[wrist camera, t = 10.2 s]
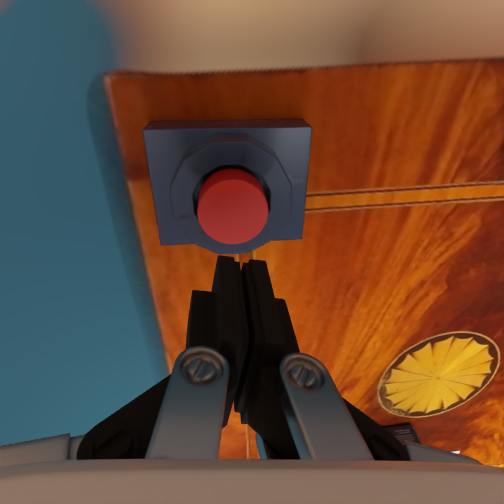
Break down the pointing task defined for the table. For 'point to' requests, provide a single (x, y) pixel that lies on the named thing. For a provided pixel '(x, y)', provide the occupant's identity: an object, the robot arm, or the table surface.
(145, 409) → the robot arm
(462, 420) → the table surface
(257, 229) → the button
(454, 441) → the table surface
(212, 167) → the button box
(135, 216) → the table surface
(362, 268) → the table surface
